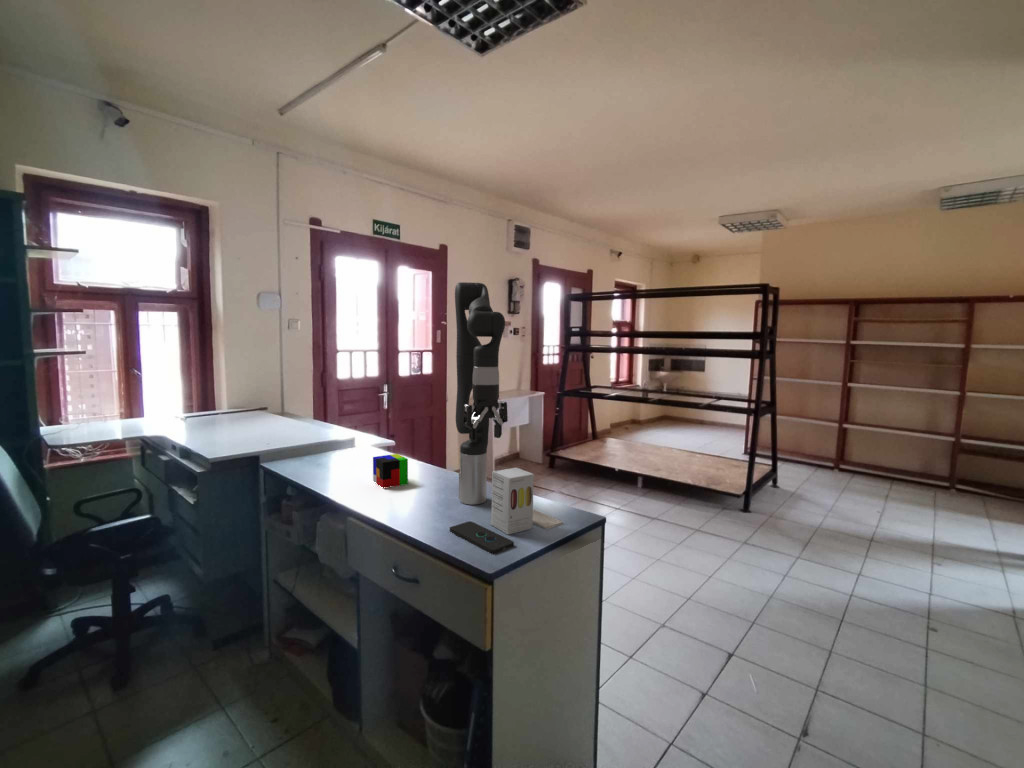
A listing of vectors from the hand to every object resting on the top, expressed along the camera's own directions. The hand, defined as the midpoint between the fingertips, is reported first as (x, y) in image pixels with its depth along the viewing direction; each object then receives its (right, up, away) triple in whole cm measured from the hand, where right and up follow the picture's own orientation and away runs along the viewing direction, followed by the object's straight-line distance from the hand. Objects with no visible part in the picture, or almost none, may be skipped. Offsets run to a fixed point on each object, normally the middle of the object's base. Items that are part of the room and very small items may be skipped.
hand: (485, 439), depth 134 cm
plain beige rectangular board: (+16, -27, +15) cm, 34 cm away
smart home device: (-1, -29, -1) cm, 29 cm away
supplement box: (+7, -28, +8) cm, 30 cm away
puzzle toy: (-40, -23, +49) cm, 67 cm away
